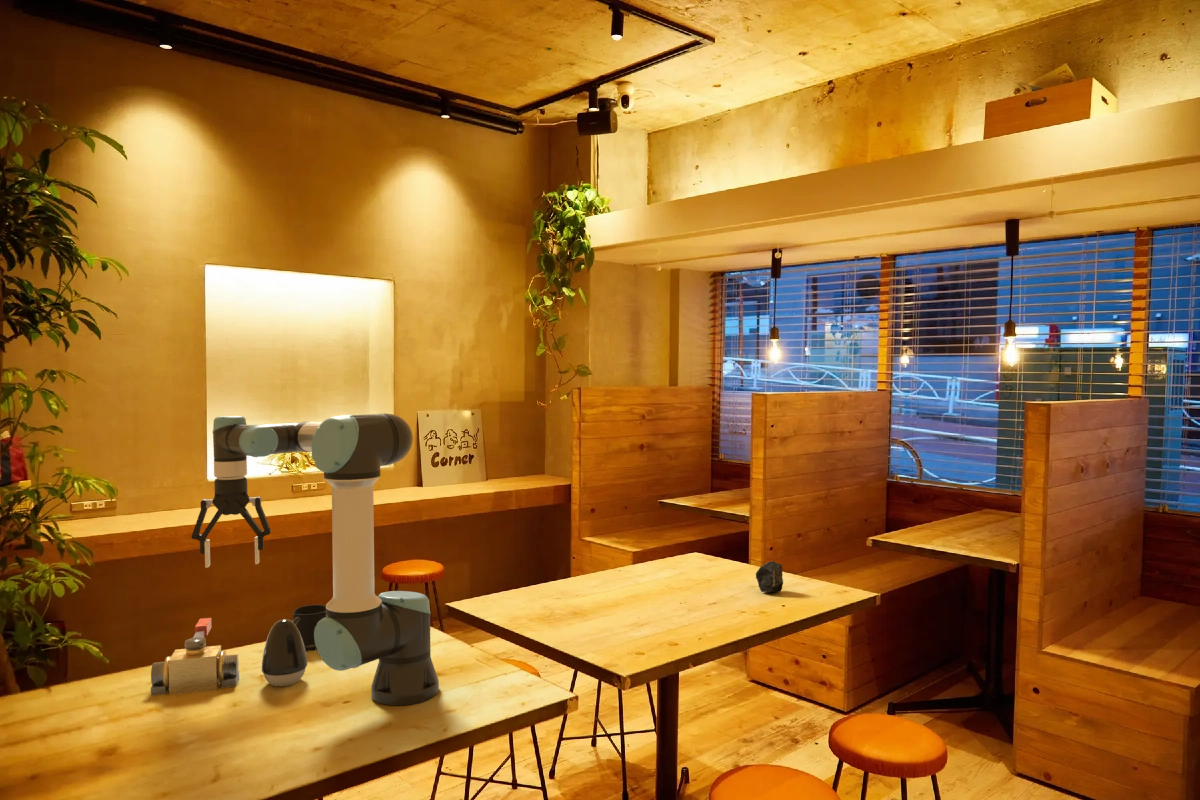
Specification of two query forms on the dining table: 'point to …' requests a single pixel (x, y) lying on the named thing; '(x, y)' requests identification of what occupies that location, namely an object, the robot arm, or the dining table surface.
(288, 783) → the dining table surface
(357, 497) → the robot arm
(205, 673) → the valve
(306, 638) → the pen holder
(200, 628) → the lever
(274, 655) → the black egg-shaped shaker
